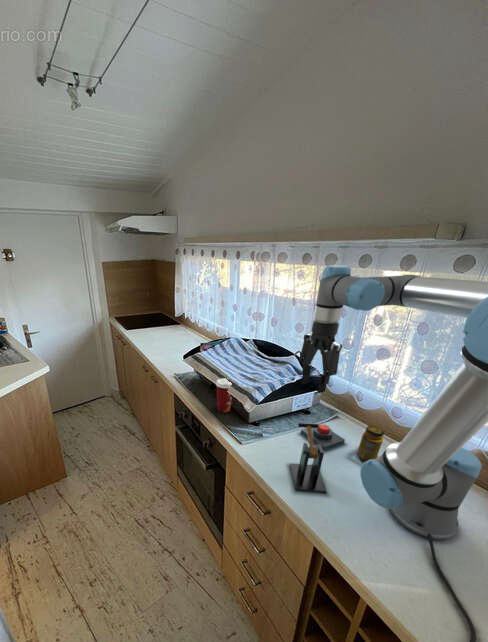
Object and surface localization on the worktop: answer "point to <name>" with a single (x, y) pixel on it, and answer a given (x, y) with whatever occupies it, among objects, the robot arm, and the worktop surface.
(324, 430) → the button
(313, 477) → the rod bracket
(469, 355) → the robot arm
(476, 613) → the worktop surface
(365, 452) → the condiment
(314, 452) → the small hammer
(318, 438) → the button box
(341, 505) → the worktop surface
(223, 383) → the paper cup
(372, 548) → the worktop surface
